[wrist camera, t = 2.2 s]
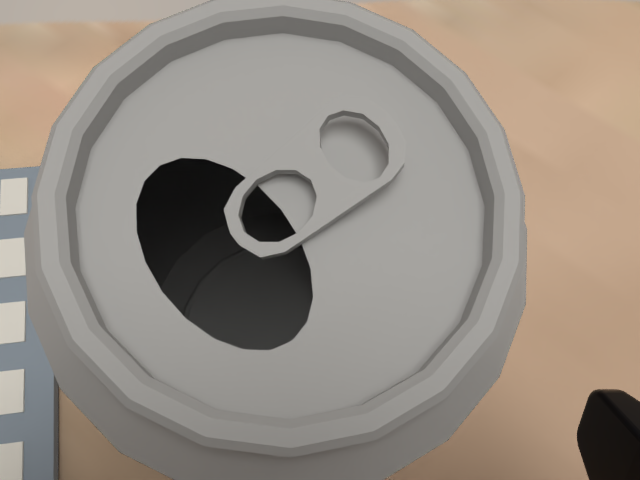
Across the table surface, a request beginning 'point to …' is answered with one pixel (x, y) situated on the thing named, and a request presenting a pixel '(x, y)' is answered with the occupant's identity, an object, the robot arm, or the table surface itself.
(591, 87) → the table surface
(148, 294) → the can
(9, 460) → the mat
